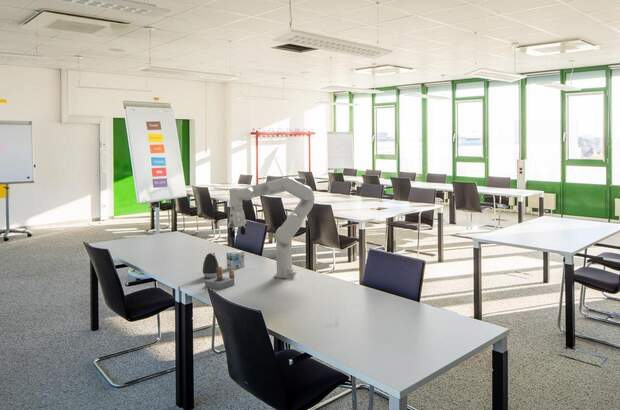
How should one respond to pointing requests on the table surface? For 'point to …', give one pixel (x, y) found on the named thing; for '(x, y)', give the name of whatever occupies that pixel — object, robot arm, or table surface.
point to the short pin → (231, 274)
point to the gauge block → (219, 283)
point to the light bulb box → (235, 259)
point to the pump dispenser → (210, 266)
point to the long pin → (219, 274)
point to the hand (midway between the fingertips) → (237, 235)
